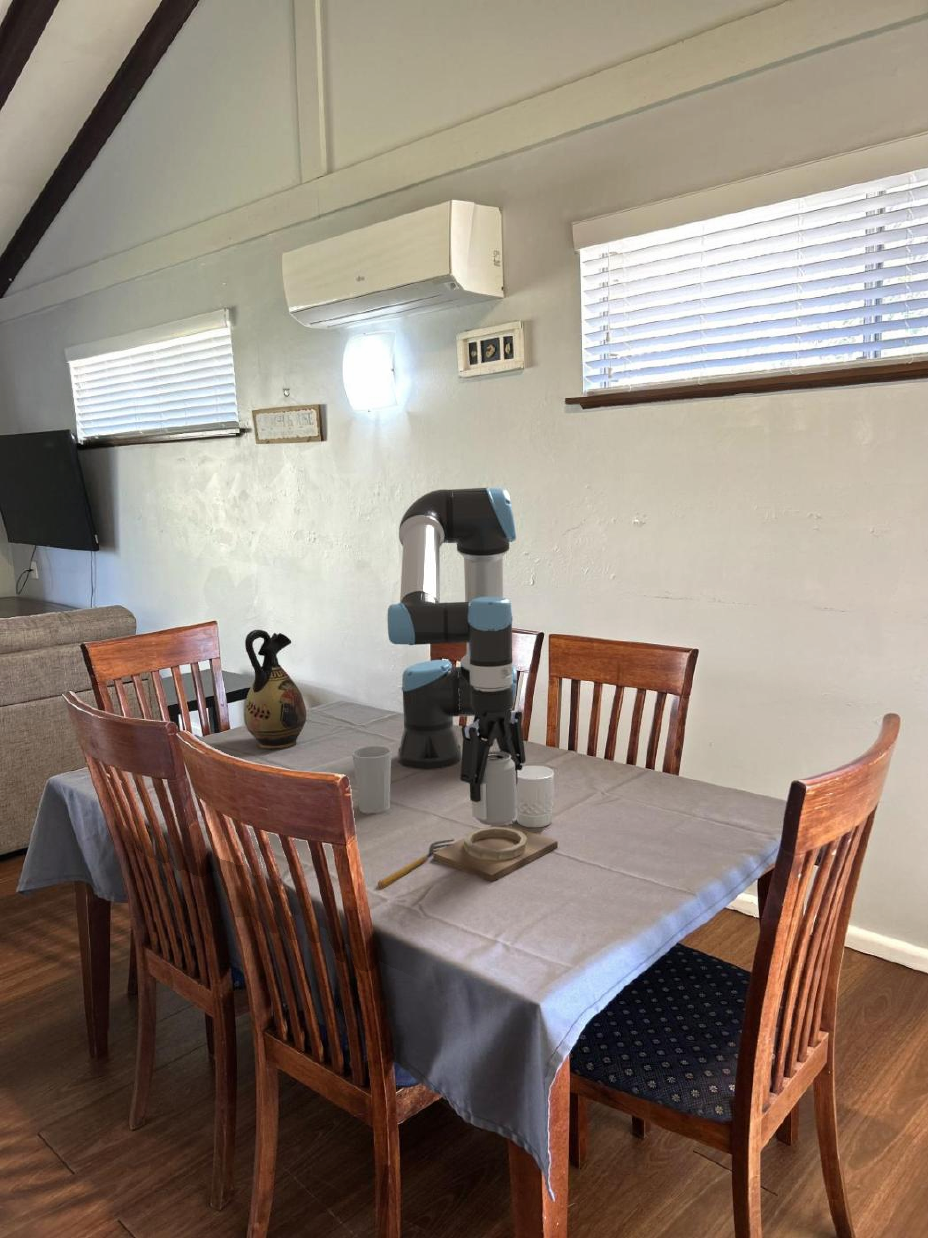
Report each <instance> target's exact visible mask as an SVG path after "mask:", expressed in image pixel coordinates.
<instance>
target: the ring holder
mask: <svg viewBox="0 0 928 1238" xmlns="http://www.w3.org/2000/svg"><path fill="white" fill-rule="evenodd" d="M450 844H451V845H449V846H446V847H442V848H439V849H440V850H438V851H436V852H433V853H432V858H433V860H435V861H437V862H440V863H442V864H445V865H448V866H451V867H454V868H456V869H458V870H461V871H464V872H465V873H468V874H471V875H474V876H476V877H479V878H482V879H484V880H487V881H490V882H494V881H496V880H499V879H500V878H502V877H504V876H506V875H508V874H510V873H511V872H513V871H515V870H517V869H519V868H521V867H523V866H524V865H527V864H528V863H531V862H532V861H534V860H537V859H538V858H540V857H542V856H544V855H546V854H548V853H549V852H551V851H553V850H555V849H558V844H559V843H558V840H555V839H553V838H549V837H546V836H543V835H540V834H537V833H533V832H530V831H528V830H524V829H523V828H522V829H521V828H519V827H515V826H512V825H509V824H504V825H499V826H491V825H489V826H488V827H483V828H482V827H481V828H477V829H474V830H473V831H471V832H469V833H467V834H466V836H465V837H464V838H462V839H459V840H458V841H454V842H453V843H450Z"/></svg>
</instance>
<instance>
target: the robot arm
mask: <svg viewBox="0 0 928 1238" xmlns="http://www.w3.org/2000/svg"><path fill="white" fill-rule="evenodd" d="M513 514H514V513H513V507H512V501H511V496H510V493H509V492H508V490H506V489H505V488H499V487H498V488H492V487H491V488H490V487H477V488H456V489H437V490H433V491H430V492H428V493H426V494H424V495H422V496H421V497H419V498H418V499H417V500H416V501H414V502H413V503H412V504H411V505H410V506H409V507H408V508H407V509H406V510H405V513H404V514H403V516H402V518H401V520H400V522H399V528H398V539H399V541H400V544H401V546H402V559H401V560H402V562H401V577H400V579H401V581H400V598H399V603H395V604H390V605H389V606H388V608H387V614H386V615H387V617H386V621H387V634H388V640H389V642H390V643H391V644H393V645H408V646H414V645H415V646H416V645H417V646H418V645H438V644H440V645H441V644H466V654H465V655H464V656H463V657H461V659H460V666H453V664H452V663H451V661H450V660H447V659H433V660H426V661H423V662H418V663H415V664H412V665H411V666H409V667H406V668H405V670H404V671H403V673H402V676H401V677H402V679H401V680H402V683H401V685H402V686H401V691H402V706H403V707H402V708H403V709H402V710H403V733H402V736H401V740H400V744H399V745H400V746H399V747H398V749H397V761H398V763H399V764H400V765H401V766H403V767H405V768H409V769H413V770H436V769H444V768H450V767H451V766H454V765H457V764H458V763H460V761H461V764H460V777H459V778H460V781H461V782H464V783H467V784H469V797H470V801H471V807H472V809H471V810H472V817H473V818H475V817H476V818H479V819H482V820H485V819H487V808H486V783H483V782H482V781H483V776H484V772H485V768H486V763H487V759H488V754H489V751H491V750H490V749H491V747H493V745H494V742H495V740H496V743H497V746H498V748H499V751H503V752H507V753H509V754H510V755H511V759H512V760H513V761H514V763H515V789H516V785H517V783H518V780H517V779H518V778H517V770H522V767H524V765H522V764H525V762H526V753H525V751H526V750H525V745H524V744H525V743H524V735H523V727H522V721H523V712H522V711H518V710H513V708H514V705H515V701H516V693H517V680H518V670H517V667H516V665H514V664H513V661H514V660H513V618H514V617H513V613H512V605H511V604H512V603H511V600H510V599H508V598H506V597H504V565H503V564H504V562H503V561H504V559H503V558H504V556H505V555H506V554H507V553H508V552H509V551H510V543H513V542H515V541H516V540H517V534H516V527H515V520H514V515H513ZM443 544H456V551H457V553H459V554H460V555H461V556H462V557H463V567H464V571H463V572H464V592H465V593H464V597H465V598H464V601H460V602H458V601H455V602H454V601H453V602H441V601H440V598H441V597H440V596H441V593H440V592H441V591H440V590H441V589H440V585H441V583H440V582H441V581H440V579H441V578H440V577H441V576H440V570H441V568H440V567H441V566H440V558H441V557H440V549H441V547H442V545H443ZM457 717H474V718H473V719H472V720H473V721H472V723H471V724H469V725H465V724H464V725H462V726H461V729H460V730H461V735H462V747H461V746H460V744H459V740H458V737H457V734H456V731H455V728H454V718H457ZM476 775H477V777H476ZM516 805H517V792H516ZM476 818H475V819H476Z"/></svg>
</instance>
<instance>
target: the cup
mask: <svg viewBox="0 0 928 1238" xmlns="http://www.w3.org/2000/svg"><path fill="white" fill-rule="evenodd" d="M351 753H352V755H351V756H352V761H353V762H352V763H353V769H354V776H355V785H356V792H357V798H358V809H359V812H361V811H362V813H364V814H369V813H375V814H379V813H378V812H381V813H383V811H385V812H387V811H389V809H390V808H391V804H390V803H391V801H390V799H391V776H392V775H391V770H392V769H391V768H392V767H391V766H392V749H391V748H390V747H388V746H382V745H370V746H369V745H367V746H362V747H359V748H356V749H354V750H353V751H352V752H351Z"/></svg>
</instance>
